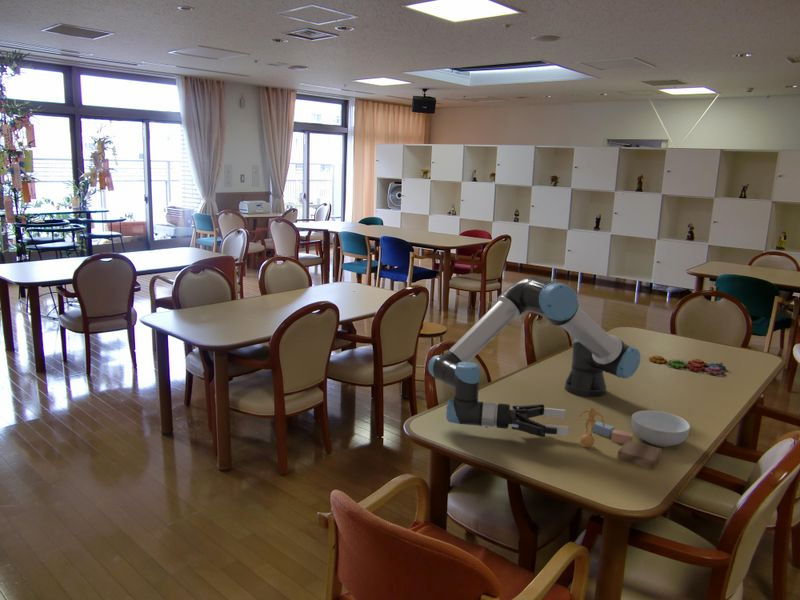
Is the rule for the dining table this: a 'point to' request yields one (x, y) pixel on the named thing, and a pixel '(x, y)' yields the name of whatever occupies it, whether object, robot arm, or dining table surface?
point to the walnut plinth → (639, 454)
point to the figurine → (588, 439)
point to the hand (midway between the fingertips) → (566, 422)
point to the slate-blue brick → (603, 429)
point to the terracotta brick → (621, 436)
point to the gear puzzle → (692, 365)
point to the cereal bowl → (660, 427)
